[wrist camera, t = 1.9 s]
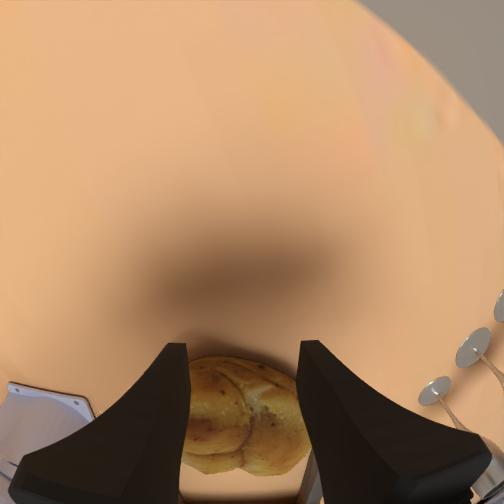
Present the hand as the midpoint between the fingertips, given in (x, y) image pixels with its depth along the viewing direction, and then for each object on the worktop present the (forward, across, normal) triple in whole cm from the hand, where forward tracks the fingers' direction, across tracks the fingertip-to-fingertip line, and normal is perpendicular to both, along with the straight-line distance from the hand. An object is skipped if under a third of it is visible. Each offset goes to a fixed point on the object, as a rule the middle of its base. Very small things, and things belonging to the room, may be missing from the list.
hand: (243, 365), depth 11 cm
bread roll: (+10, 0, +11) cm, 15 cm away
